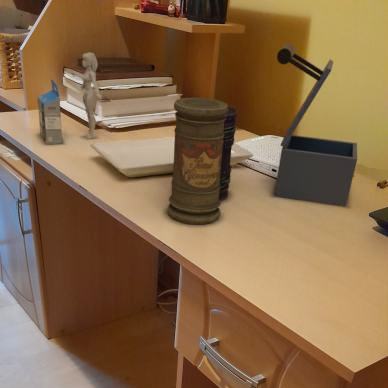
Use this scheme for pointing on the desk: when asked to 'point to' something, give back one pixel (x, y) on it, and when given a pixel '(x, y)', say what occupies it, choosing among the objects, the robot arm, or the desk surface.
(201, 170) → the container
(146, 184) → the desk surface
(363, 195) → the desk surface
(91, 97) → the human figurine
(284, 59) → the lid
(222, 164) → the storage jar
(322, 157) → the grey storage bin
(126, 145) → the tray
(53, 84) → the label tape box
